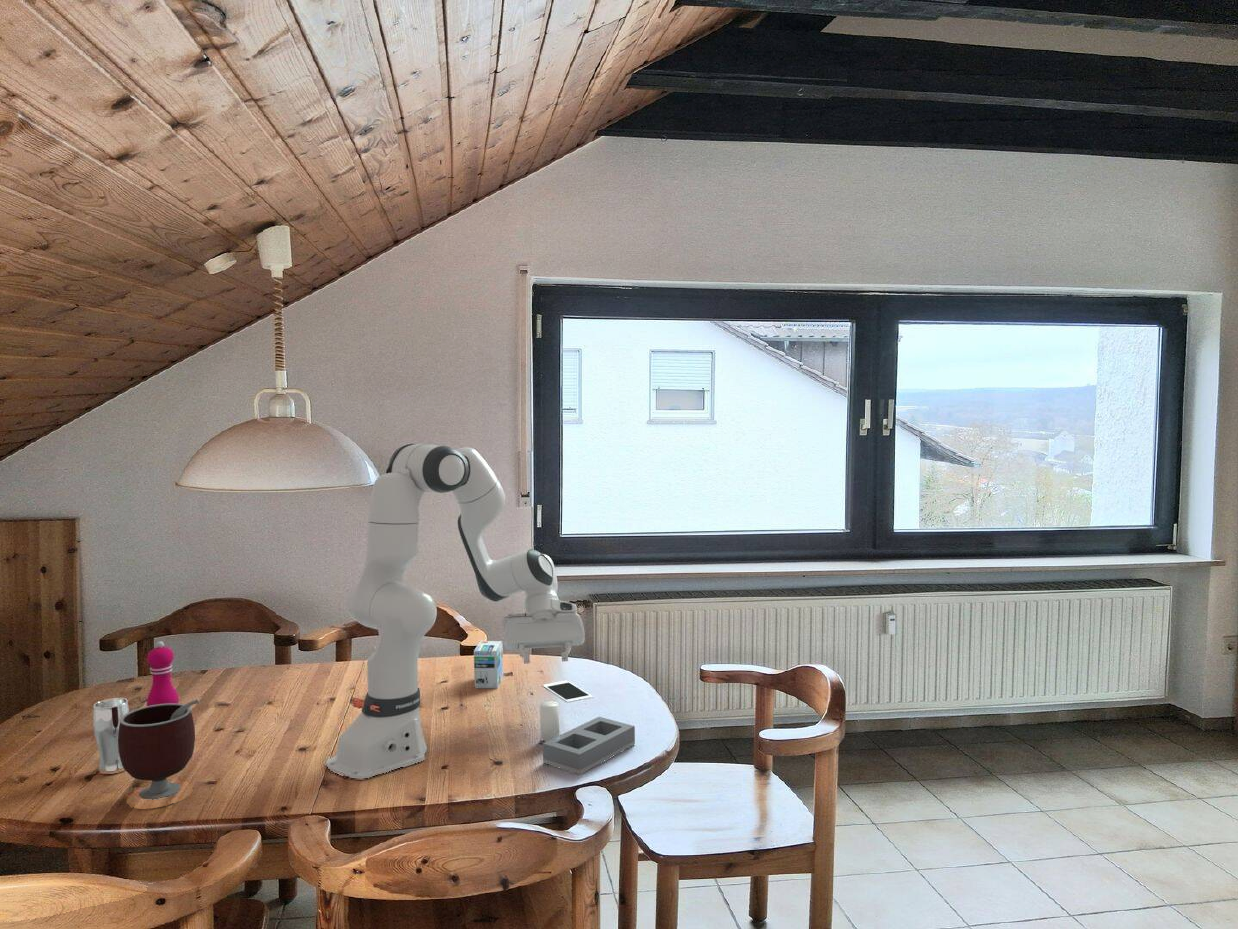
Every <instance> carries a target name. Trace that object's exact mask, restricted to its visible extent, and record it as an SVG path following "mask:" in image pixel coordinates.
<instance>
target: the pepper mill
mask: <svg viewBox="0 0 1238 929" xmlns="http://www.w3.org/2000/svg"><path fill="white" fill-rule="evenodd" d="M155 646H156V647H155V648H153V649H151V650H150V651H149V652H148V654H147V657H146V662H147V664H149V665H150V668H149V670H150V672H149V673H150V674H151V675H152V683H151V689H150V691H149V693H148V696H147V699H146V706H151V705H158V704H169V703H177V704H179V701H180V700H179V694H178V692H177V690H176V689H175V687H174V685H173V683H172V680H171V674H172V671H173V665H172V662H173V661H174V658H175V655H174V652H173V650H172V649H171V648H170V647H168V646H165V644H164V641H162V640H161V641H160V640H159V641H157V642H156V644H155Z"/></svg>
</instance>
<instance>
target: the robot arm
mask: <svg viewBox="0 0 1238 929" xmlns="http://www.w3.org/2000/svg"><path fill="white" fill-rule="evenodd" d="M449 492H451V493H452V495H453V496H454V498H455V499H456V501H457V502H458V505H459V508H460V514H459V515H458V518H457V529H458V533H459V536H460V538H461V541H462V544H463V546H464V549H465V552H466V554H467V556H468V558H469V562H470V564H471V567H472V569H473V572H474V577H475V580H476V584H477V587H478V590H479V593H480V594H481V595H482V596H483V597H484V598H485V599H488V600H490V601H492V602H497V603H498V602H500V601H501V600H504V599H506V598H508V597H510V596H513V595H515V594H519V593H522V592H524V594H525V601H524V610H525V611H524V613H517V614H516V613H515V614H514V613H511V614H510V613H509V614H507V615H506V616H504V617H503V618H502V620H501V627H502V629H503V630H504V634H503V638H504V639H503V645H504V646H503V647H504V648H505V649H506V650H507V651H508V650H509V651H510V650H518V653H519V655H520V656H521V657H522V658H523V664H525V665H527V664H530V663H531V662H530V661H531V660H530V659H531V658H530V654H528V653H526V652H525V650H526V649H541V648H542V649H543V648H545V649H546V648H559V647H560V648H561V647H565V651H562V652H561V662H568V661H569V654H570V652H571V651H572V647H574V646H575V647H577V646H578V647H579V646H582V645H583V644H584V643H585V638H586V635H585V633H586V632H585V628H584V624H583V620H582V618H581V616H580V615H579V614H578V608H577V607H578V606H577V605H576V604H575V603H572V602H569V601H563V600H560V599H559V596H558V590H559V589H558V588H559V585H558V578H557V571H556V568H555V564H554V562H553V560H552V558H551V557H550V556H549V555H547V554H545V553H541V552H539V551H538V550H536V549H533V548H529V549H525V550H522V551H520V552H517V553H514V554H512V555H509V556H506V557H503V558H500V559H497V560H495V559H491V558H490V556H489V554H488V551H487V548H486V545H485V543H484V540H483V537H482V533H483V532H485V530H486V529H487V528H488V527H490V526H491V525H492V524H493V523H494V522H495V521H496V520H497V519H498V518H499V517H500V515H501V514H502V512H503V510H504V508H505V505H506V493H505V490H504V489H503V486H502V484H501V482H500V480H499V478H498V477H497V475H496V473H495V472H494V471H493V469H492V468H491V466H490V465H489V464H488V462H487V461H486V460H485V459H484V457H483V456H482V454H480V453H479V452H478V451H477V450H476V449H475V448H472V447H470V446H469V447H467V446H466V447H460V448H457V449H455V448H453V447H450V446H446V445H436V444H433V443H409V444H404V445H402V446H399V447H398V448H397V449H396V450H395V451H394V452H393V454H391V457H390V460H389V463H388V466H387V468H386V471H385V473H384V474H382V475H380V476H378V477H377V478H376V479H375V481H374V483H373V487H372V490H371V495H370V501H369V505H368V506H369V507H368V516H367V517H368V518H367V519H368V520H367V522H368V524H367V543H366V555H365V560H364V563H363V567H362V571H361V573H360V576H359V579H358V580H357V582H356V583H355V584H354V585H353V586H352V587H351V588H350V589H349V591H348V593H347V595H346V599H345V607H346V611H347V612H348V615H349V616H350V617H351V618H352V619H354V621H356V622H357V623H359V624H360V625H362V626H364V627H367V628H370V629H374V630H377V632H378V641H377V646H376V648H375V651H374V652H372V653H371V654H370V655H369V656H368V658H367V660H366V662H367V663H366V667H367V668H366V672H367V673H366V674H367V675H366V676H367V692H366V694H365V697H364V699H360V698H359V697H355V698H354V699H353V701H352V703H351V705H352V707H353V708H356V709H361V712H360V714H358V716H357V717H356V718H355V719H354V721H353V722H352V723H351V724H350V725H349V726H348V727H347V729H345V731H344V732H343V733H342V734H341V735H340V736H339V738H338V740H337V747H336V754H335V755H334V756H332V757H331V758H329V759H326V761H325V766H326V765H327V767H328V768H329V769H330V770H332V771H334V772H335V773H339V774H341V775H345V776H349V777H353V778H361V779H360V780H364V779H363V778H368V777H371V776H374V775H377V774H380V773H384V774H387V773H390V772H392V771H391V770H394V769H397V768H400V767H403V768H406V767H409V766H412V765H415V763H416V764H418V762H419V763H422V762H424V761H426V757H425V755H426V754H425V753H426V752H427V750H428V746H427V743H426V741H425V737H424V733H423V729H422V722H421V715H420V706H421V690H420V688H419V686H418V685H419V680H418V677H419V676H418V675H419V674H418V673H419V671H418V664H419V663H418V659H419V652H420V648H421V644H422V642H423V639H424V636H425V635H426V634H427V633H428V632H429V631H430V630H431V629H432V628H433V627H434V624H435V622H436V619H437V614H438V613H437V612H438V611H437V608H438V607H437V604H436V601H435V600H434V599H433V597H431V596H430V595H429V594H428V593H425V592H424V591H423V590H421V589H419V588H417V587H413V586H411V585H410V586H408V585H405V584H404V579H405V576H406V575H405V574H406V571H407V569H408V568H409V565H410V564H412V563H413V562H414V561H415V560H416V559H417V556H418V553H419V552H418V551H419V549H418V548H419V522H420V521H419V520H420V519H419V518H420V515H419V514H420V512H419V510H420V509H419V508H420V503H421V499H422V498H423V496H424V494H425V493H440V494H442V493H443V494H444V493H445V494H446V493H449ZM423 760H424V761H423ZM421 761H422V762H421ZM327 767H326V768H327ZM400 769H401V768H400ZM397 770H398V769H397ZM389 771H390V772H389ZM394 771H395V770H394ZM386 772H387V773H386ZM335 773H334V774H335ZM371 778H372V777H371ZM368 779H369V778H368Z"/></svg>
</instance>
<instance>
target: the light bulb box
mask: <svg viewBox="0 0 1238 929" xmlns="http://www.w3.org/2000/svg"><path fill="white" fill-rule="evenodd" d="M503 647H504V646H503V641H502V640H488V641H487V640H479V642H478V644H477V646H476V647H475V649H474V650H473V668H474V669H473V671H474V689H498V688H499V686H500V685H501V683H502V680H503V679H504V659H503V658H504V656H503V655H504V652H503V651H504V649H503Z"/></svg>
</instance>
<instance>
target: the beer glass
mask: <svg viewBox="0 0 1238 929" xmlns="http://www.w3.org/2000/svg"><path fill="white" fill-rule="evenodd" d="M128 712H130V707H129V700H128V699H127V698H126V697H113V698H107V699H103V700H99V701H97V702H95V703H94V704H93V713H92V716H93V717H92V718H93V719H92V722H93V723H92V725H93V733H94V736H95V737H94V738H95V742H96V745H97V750H98V753H99V764H98V770H99V769H100V770H102V771H105V772H106V771H115V770H118V769H121V768H123V766H122V763H121V760H120V756H119V751H118V733H119V726H120V718H121V717H122V716H123V715H125V714H126V713H128Z"/></svg>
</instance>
